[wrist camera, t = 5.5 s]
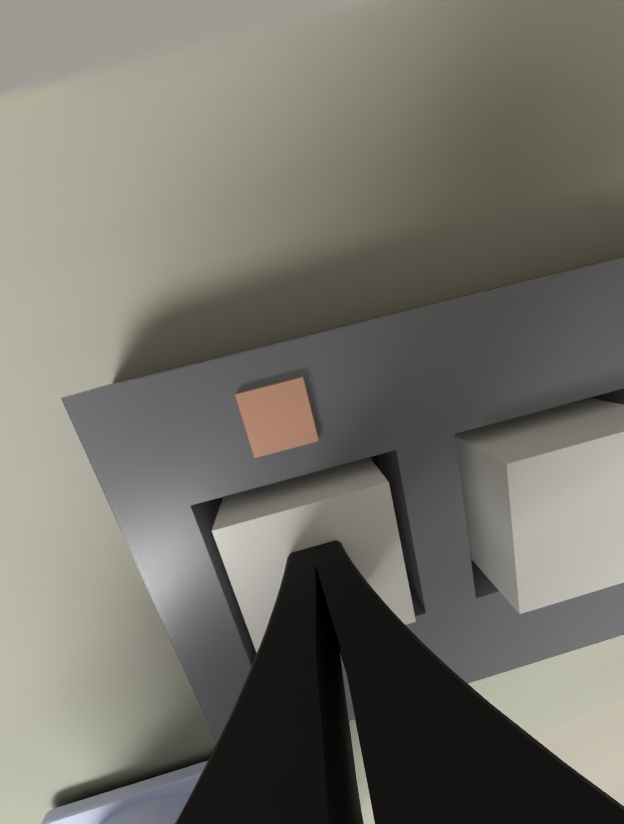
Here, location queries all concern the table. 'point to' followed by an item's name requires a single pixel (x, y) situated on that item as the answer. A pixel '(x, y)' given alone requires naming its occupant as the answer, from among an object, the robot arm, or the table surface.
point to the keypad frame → (350, 441)
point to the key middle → (547, 501)
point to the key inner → (311, 536)
